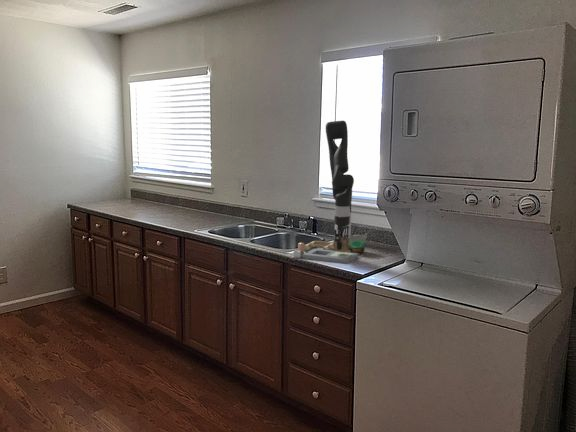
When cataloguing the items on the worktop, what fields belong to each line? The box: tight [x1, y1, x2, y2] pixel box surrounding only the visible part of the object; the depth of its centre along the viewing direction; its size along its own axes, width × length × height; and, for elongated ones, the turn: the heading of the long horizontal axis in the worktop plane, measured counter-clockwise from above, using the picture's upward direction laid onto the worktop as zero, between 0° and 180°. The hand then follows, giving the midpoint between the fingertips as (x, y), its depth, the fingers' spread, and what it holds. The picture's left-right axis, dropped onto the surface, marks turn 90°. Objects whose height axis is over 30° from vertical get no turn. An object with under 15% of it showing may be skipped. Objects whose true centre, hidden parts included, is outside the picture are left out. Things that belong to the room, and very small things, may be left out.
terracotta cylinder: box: [297, 242, 305, 256], centre depth 265 cm, size 3×3×6 cm
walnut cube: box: [333, 238, 349, 252], centre depth 255 cm, size 6×6×6 cm
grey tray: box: [302, 248, 359, 264], centre depth 258 cm, size 15×24×2 cm, turn 64°
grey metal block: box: [293, 249, 302, 259], centre depth 260 cm, size 4×4×4 cm
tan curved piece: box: [304, 240, 334, 252], centre depth 276 cm, size 14×12×3 cm
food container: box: [346, 232, 368, 255], centre depth 268 cm, size 12×6×10 cm, turn 103°
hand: (341, 248), depth 255 cm, fingers closed on walnut cube, 6 cm apart
